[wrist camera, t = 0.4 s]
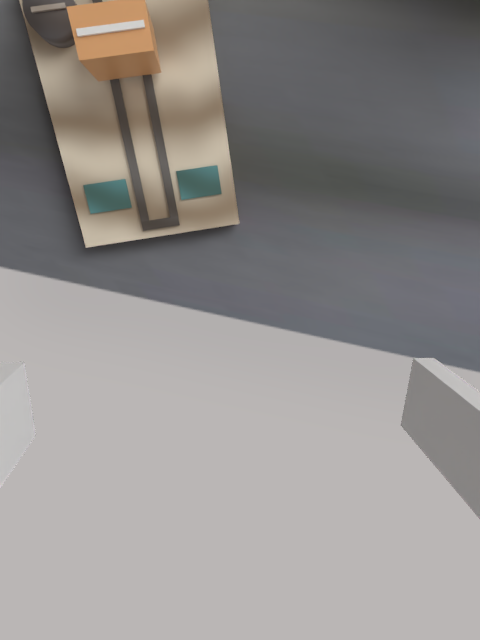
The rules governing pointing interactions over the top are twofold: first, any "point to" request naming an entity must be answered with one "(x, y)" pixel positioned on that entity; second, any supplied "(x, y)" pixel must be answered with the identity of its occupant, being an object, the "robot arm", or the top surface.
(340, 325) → the top surface
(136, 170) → the console
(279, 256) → the top surface
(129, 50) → the fader knob
